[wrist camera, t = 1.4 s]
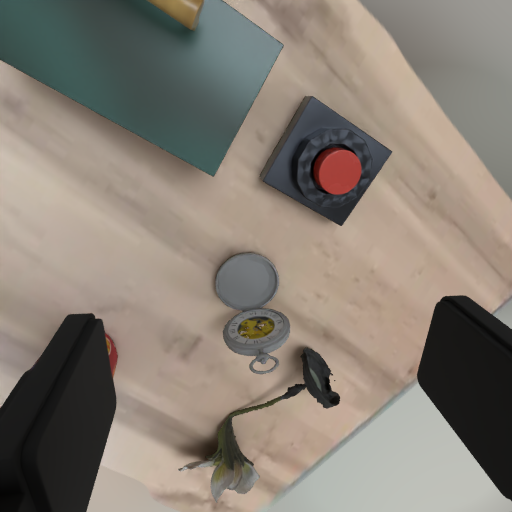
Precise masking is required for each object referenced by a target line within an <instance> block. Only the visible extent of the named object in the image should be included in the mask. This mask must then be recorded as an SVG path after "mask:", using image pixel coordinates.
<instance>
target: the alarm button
mask: <svg viewBox="0 0 512 512" xmlns="http://www.w3.org/2000/svg"><path fill="white" fill-rule="evenodd" d="M313 176H314V179H315V181H316V183H317V184H318V185H319V186H320V187H321V188H323V189H324V190H325V191H327V192H329V193H331V194H335V195H339V194H344V193H347V192H349V191H350V190H352V189H353V188H354V187H355V186H356V184H357V183H358V181H359V179H360V176H361V163H360V161H359V159H358V157H357V156H356V155H355V154H354V153H352V152H351V151H348V150H345V149H342V148H337V147H335V148H329V149H327V150H325V151H324V152H322V153H321V154H320V155H319V156H318V158H317V159H316V161H315V163H314V167H313Z"/></svg>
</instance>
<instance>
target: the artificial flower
mask: <svg viewBox="0 0 512 512" xmlns="http://www.w3.org/2000/svg"><path fill="white" fill-rule="evenodd" d="M303 352H304V353H303V354H302V355H301V356H300V357H301V358H302V362H303V376H304V378H303V379H304V381H305V384H295V386H293V387H288V392H286V393H285V394H284V395H282V396H279V397H278V398H275V399H273V400H271V401H267V403H265V404H261V405H257V406H253V407H249V408H245V409H242V410H238V411H235V412H233V413H231V414H230V415H229V417H228V418H227V419H226V421H225V423H224V425H223V426H222V428H221V429H220V431H219V432H218V444H219V445H218V450H217V451H216V452H215V453H214V454H213V455H209V456H206V458H208V460H207V461H198V462H193V463H190V464H188V465H186V466H184V467H183V468H181V469H178V471H184V470H186V469H193V468H196V467H208V466H209V467H212V466H217V467H216V468H215V470H214V472H213V475H212V478H211V492H212V495H213V497H214V499H215V501H216V503H217V500H218V498H219V497H220V496H221V495H222V493H223V491H224V490H225V489H226V488H227V489H229V490H235V491H236V492H237V493H240V494H245V493H247V492H248V491H250V490H251V488H252V487H253V485H254V483H255V481H256V480H258V479H259V477H260V476H259V474H258V473H257V472H256V470H255V469H254V467H253V465H254V464H253V463H252V462H251V461H249V460H248V459H247V458H246V457H245V456H244V455H243V454H242V453H241V451H240V449H239V447H238V444H237V442H236V440H235V437H236V436H234V433H233V427H232V417H234V416H236V415H239V414H243V413H248V412H249V411H253V410H258V409H262V408H264V407H268V406H271V405H273V404H275V403H276V402H278V401H280V400H282V399H288V398H290V397H292V396H295V395H297V394H298V393H299V392H300V391H301V390H302V389H303V390H304V389H305V388H306V387H307V390H308V391H309V393H310V394H311V395H312V396H313V397H314V398H317V402H319V403H321V404H322V405H323V407H324V408H330V407H333V406H337V405H338V404H339V401H340V396H339V395H338V393H336V392H333V391H332V390H331V386H330V384H329V383H330V380H329V376H330V374H331V375H333V374H332V373H330V371H331V370H330V369H329V368H328V365H327V364H326V362H325V361H324V359H323V358H322V357H321V356H320V354H318V353H316V352H315V351H313V350H312V349H308V347H307V348H305V349H304V350H303ZM334 381H335V380H334Z"/></svg>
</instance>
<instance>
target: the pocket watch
mask: <svg viewBox="0 0 512 512" xmlns="http://www.w3.org/2000/svg"><path fill="white" fill-rule="evenodd" d="M278 286H279V276H278V273H277V270H276V268H275V266H274V264H273V263H271V262H270V261H269V260H268V259H267V258H266V257H263V256H261V255H259V254H255V253H242V254H238V255H235V256H233V257H231V258H230V259H228V260H227V261H226V262H225V263H224V264H223V265H222V266H221V267H220V269H219V271H218V273H217V276H216V291H217V294H218V296H219V298H220V299H221V301H222V302H224V303H225V304H226V305H227V306H229V307H231V308H233V309H236V310H241V311H242V313H240V314H238V315H236V316H234V317H233V318H232V319H230V320H229V321H228V322H227V324H226V325H225V327H224V330H223V337H224V341H225V343H226V345H227V346H228V347H229V349H231V350H232V351H233V352H235V353H238V354H241V355H246V356H256V359H254V360H253V361H252V362H251V363H250V365H249V368H250V370H251V371H252V372H254V373H257V374H265V373H269V372H272V371H273V370H275V369H276V368H277V367H278V365H279V361H278V359H277V358H275V357H273V356H270V355H269V354H267V353H270V352H272V351H274V350H276V349H278V348H279V347H281V346H282V345H283V344H284V343H285V342H286V340H287V339H288V337H289V333H290V323H289V320H288V318H287V317H286V316H285V315H284V314H282V313H281V312H278V311H276V310H273V309H266V308H262V307H263V306H265V305H266V304H267V303H268V302H270V301H271V300H272V298H273V297H274V296H275V294H276V292H277V289H278ZM260 324H264V326H263V327H262V326H260V327H261V328H260V327H259V326H258V325H260ZM265 324H267V325H265ZM266 326H267V327H266ZM271 326H272V327H271ZM247 327H249V328H248V329H247ZM245 328H246V329H245ZM241 331H245V332H246V331H247V332H246V333H244V332H243V333H242V334H240V332H241ZM253 333H254V334H253ZM246 335H247V336H248V337H249V338H247V336H246ZM242 336H243V337H242ZM245 336H246V337H245ZM269 358H270V359H273V360H274V361H275V362H276V364H275V366H274V367H273V368H272V369H270V370H267V371H256V370H255V369H253V364H254V363H255V362H256V361H258V362H261V363H262V364H265V363H266V361H267V360H268V359H269Z"/></svg>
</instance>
